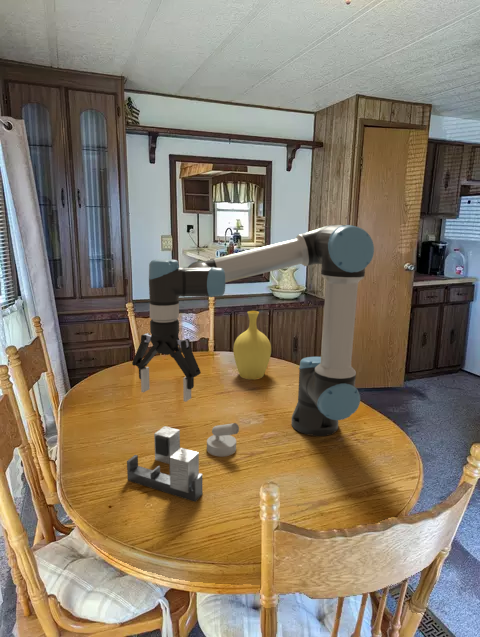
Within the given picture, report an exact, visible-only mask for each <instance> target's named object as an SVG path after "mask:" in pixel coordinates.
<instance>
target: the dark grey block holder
mask: <svg viewBox="0 0 480 637" xmlns="http://www.w3.org/2000/svg"><path fill="white" fill-rule="evenodd" d="M199 455H200V453H199V451H195V450H191V449H188V448H184V447H180V449H179V450H177V451H176V452H175V453H174V454H173V455H171V456H170V457H169V464H168V465H169V474H167V473H164V472H161V466H160V465H158V466H156V467H155V468H154V469H150V468H146V467H143V466H140V465H139V455H137V454H135V455H133V456H132V457H130V458H129V459H128V460H126V470H127V471H126V472H127V473H126V474H127V481H128V482H132V483H134V484H137V485H141V486H144V487H148V488H150V489H154V490H156V491H160V492H163V493H166V494H169V495H173V496H175V497H178V498H182V499H185V500H187V501H188V500H189V501H191V502H194V503H197V501H198V500H199V499H200V498H201V497H202V495H203V473H201V472H199V470H200V466H199V464H200V462H199V461H200V460H199V459H200V458H199Z"/></svg>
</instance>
